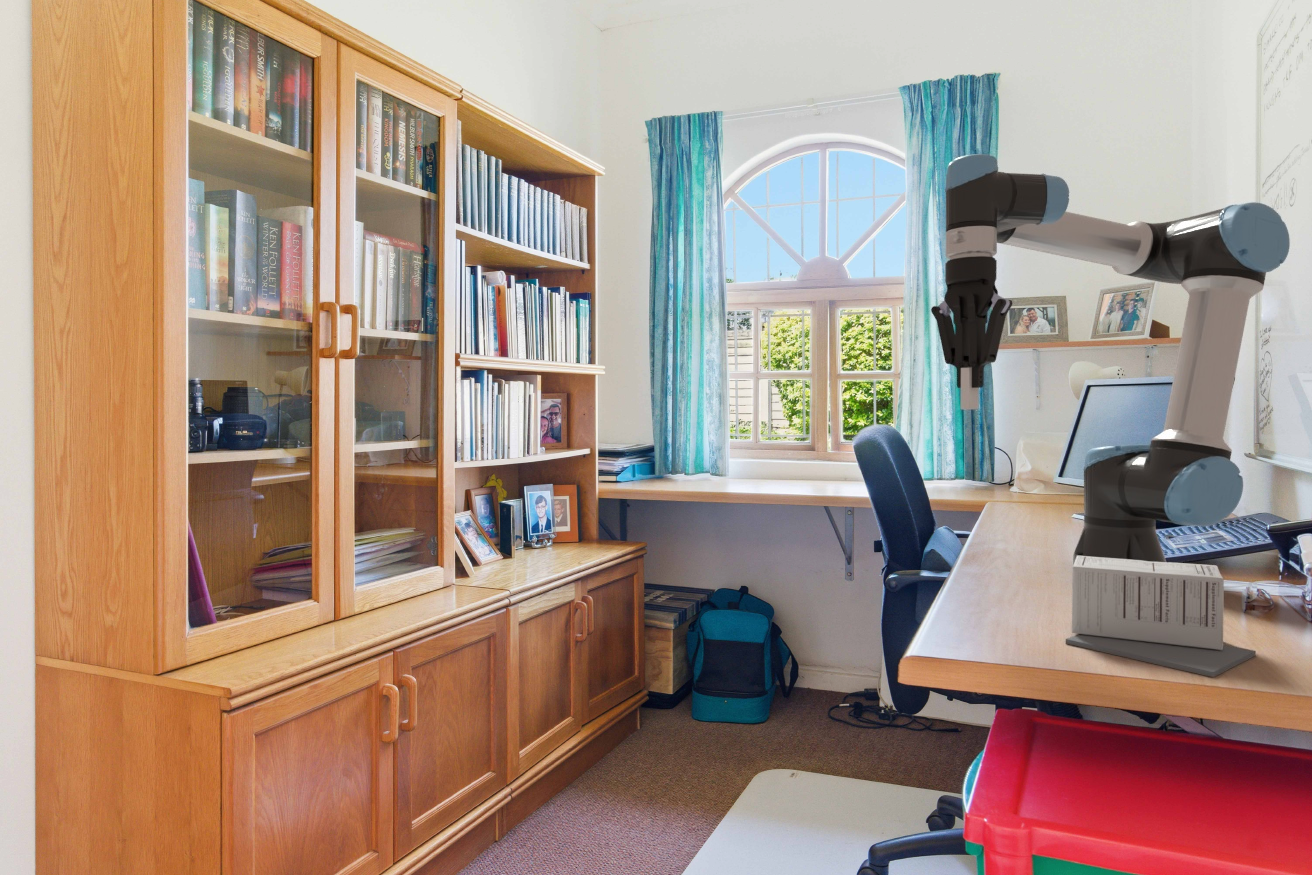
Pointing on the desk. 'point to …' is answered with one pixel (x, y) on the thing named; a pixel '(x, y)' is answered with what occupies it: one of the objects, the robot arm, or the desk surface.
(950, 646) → the desk surface
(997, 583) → the desk surface
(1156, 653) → the mat
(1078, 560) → the supplement box
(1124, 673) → the desk surface
